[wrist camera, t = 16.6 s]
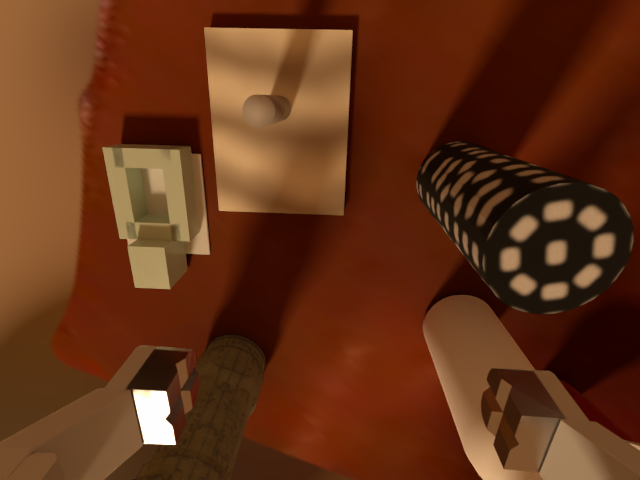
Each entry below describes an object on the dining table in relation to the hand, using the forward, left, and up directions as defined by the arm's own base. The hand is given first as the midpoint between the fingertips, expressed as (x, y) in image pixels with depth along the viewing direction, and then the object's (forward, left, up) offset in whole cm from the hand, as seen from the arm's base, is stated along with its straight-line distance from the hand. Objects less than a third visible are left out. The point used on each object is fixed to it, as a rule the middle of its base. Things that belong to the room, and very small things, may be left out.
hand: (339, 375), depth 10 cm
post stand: (-4, -6, -32) cm, 33 cm away
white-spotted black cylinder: (+1, +13, -32) cm, 35 cm away
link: (+6, -20, -32) cm, 38 cm away
